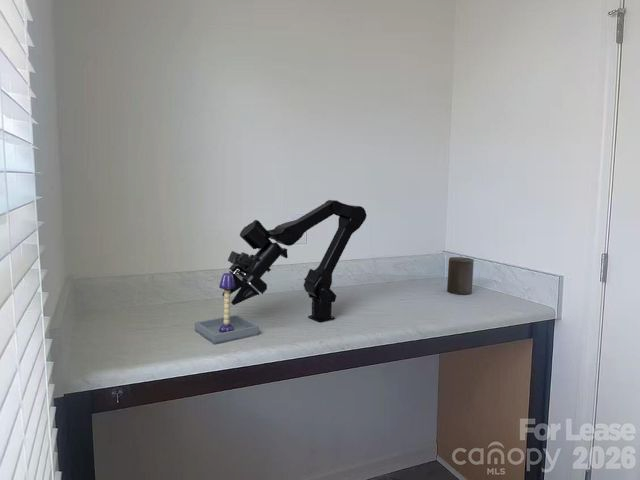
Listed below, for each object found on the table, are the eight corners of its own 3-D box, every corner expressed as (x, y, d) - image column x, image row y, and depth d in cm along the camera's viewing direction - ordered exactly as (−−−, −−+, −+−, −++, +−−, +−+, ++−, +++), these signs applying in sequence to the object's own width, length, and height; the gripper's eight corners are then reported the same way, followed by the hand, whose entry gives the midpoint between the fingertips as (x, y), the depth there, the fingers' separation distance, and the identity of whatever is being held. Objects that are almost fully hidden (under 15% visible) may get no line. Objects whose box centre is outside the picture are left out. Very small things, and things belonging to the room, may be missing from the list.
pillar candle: (450, 294, 181) (452, 257, 179) (444, 288, 191) (446, 253, 189) (475, 295, 181) (477, 257, 179) (468, 289, 190) (470, 253, 188)
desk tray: (259, 334, 131) (259, 326, 131) (214, 344, 123) (214, 335, 122) (237, 322, 142) (237, 314, 141) (194, 330, 134) (194, 322, 133)
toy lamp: (224, 327, 135) (224, 271, 133) (238, 329, 134) (238, 273, 132) (216, 332, 131) (215, 274, 129) (230, 334, 129) (230, 276, 127)
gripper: (235, 237, 140) (199, 276, 136) (255, 245, 123) (215, 289, 120) (260, 260, 144) (226, 298, 141) (282, 271, 128) (245, 315, 124)
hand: (227, 300), depth 131 cm, fingers open, 9 cm apart
